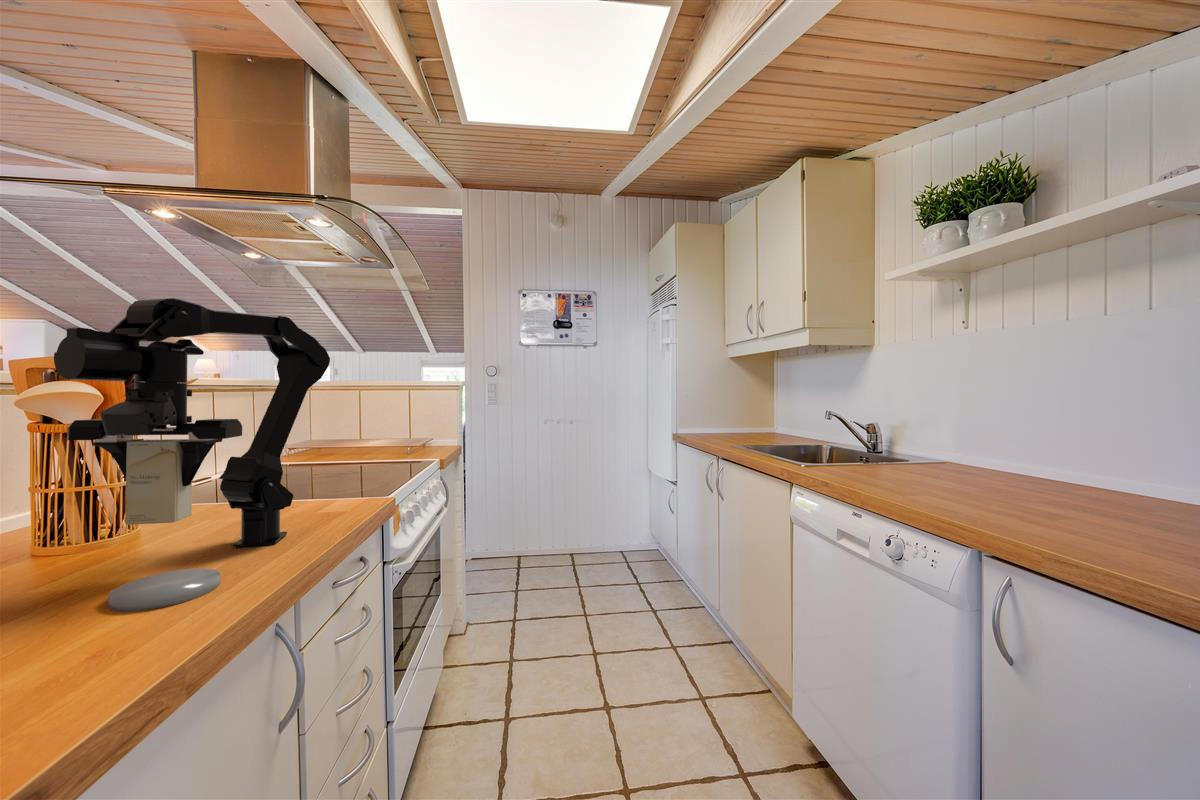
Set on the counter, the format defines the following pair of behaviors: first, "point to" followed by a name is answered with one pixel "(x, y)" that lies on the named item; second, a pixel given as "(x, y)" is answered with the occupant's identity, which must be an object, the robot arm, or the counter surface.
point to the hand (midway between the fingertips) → (160, 486)
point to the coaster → (163, 589)
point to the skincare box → (156, 482)
